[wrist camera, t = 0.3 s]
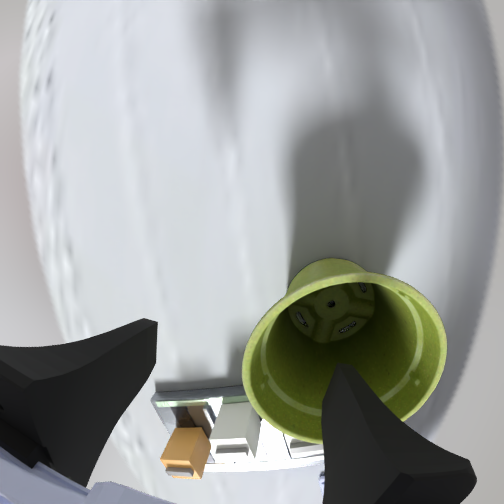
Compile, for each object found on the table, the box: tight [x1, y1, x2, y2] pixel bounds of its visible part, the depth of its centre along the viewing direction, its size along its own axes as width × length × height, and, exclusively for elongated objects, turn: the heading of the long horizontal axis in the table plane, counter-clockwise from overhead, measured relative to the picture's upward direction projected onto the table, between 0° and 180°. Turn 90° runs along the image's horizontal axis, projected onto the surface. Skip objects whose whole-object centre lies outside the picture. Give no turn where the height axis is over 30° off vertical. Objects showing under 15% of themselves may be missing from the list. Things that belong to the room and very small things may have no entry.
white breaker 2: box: [284, 434, 324, 457], centre depth 20 cm, size 3×3×4 cm
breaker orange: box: [160, 427, 212, 479], centre depth 22 cm, size 3×3×4 cm
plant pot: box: [242, 258, 447, 444], centre depth 17 cm, size 9×9×9 cm
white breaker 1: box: [209, 402, 262, 462], centre depth 21 cm, size 3×3×4 cm
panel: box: [150, 385, 324, 471], centre depth 24 cm, size 10×15×2 cm, turn 105°
